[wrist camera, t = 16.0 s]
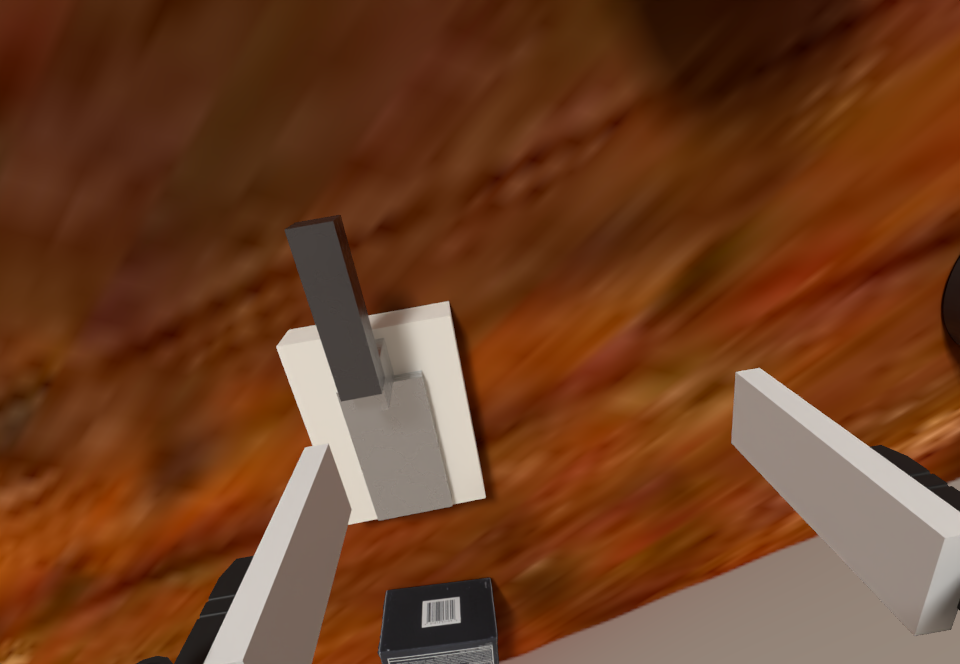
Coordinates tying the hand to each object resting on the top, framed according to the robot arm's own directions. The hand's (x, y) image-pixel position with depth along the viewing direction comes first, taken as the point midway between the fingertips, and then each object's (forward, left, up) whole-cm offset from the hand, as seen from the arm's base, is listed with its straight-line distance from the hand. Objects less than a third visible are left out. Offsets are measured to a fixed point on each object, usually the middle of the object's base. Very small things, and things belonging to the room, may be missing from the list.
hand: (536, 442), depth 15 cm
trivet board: (+8, +10, -20) cm, 24 cm away
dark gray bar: (+8, +6, -17) cm, 20 cm away
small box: (+9, +30, -17) cm, 36 cm away
